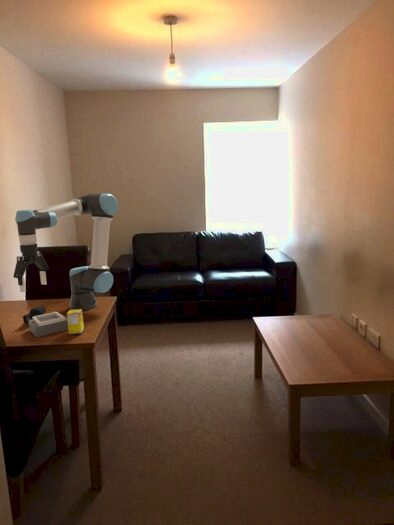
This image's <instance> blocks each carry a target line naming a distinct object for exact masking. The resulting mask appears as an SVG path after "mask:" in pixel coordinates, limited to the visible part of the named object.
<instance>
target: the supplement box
mask: <svg viewBox="0 0 394 525" xmlns="http://www.w3.org/2000/svg"><path fill="white" fill-rule="evenodd" d="M66 318H67V321H68V330H67V331H68V335H69V336H72V335H73V336H75V335H77V336H78V335H83V333H84V331H85V325H84V316H83V310H82V309H75V310H72V309H69V310H68V311H67V312H66Z"/></svg>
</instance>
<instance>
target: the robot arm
mask: <svg viewBox="0 0 394 525" xmlns="http://www.w3.org/2000/svg"><path fill="white" fill-rule="evenodd" d="M118 211H119V202H118V200H117V199H116V197H115V196H114V195H112V194H111V193H88V194H84V195H81V196H78V197H75V198H72V199H71V200H70V201H66V202H63V203H62V202H61V203H57V204H54V205H50V206H45V207H40V208H37V209H20V210H17V211H16V213H15V218H14V220H15V224H16V227H17V233H18V240H19V241H18V242H19V249H20V253H21V255H20V256H16V263H15V267H14V273H13V278H15V279H17V284H18V287H19V292H20V293H26V292H27V290H26V289H27V288H26V283H25V282H26V281H25V277H24V275H25V273H26V270H27V269H28V267H29V265H31V264H35V266H36V267H37V268H38V269H39V270H40V271H39V277H40V284H41V285H45V286H46V285H47V283H48V282H47V272H48V269H50V266H49V265H48V263H47V261H46V258H45V257H44V255H43V251H39V250H38V249H39V247H38V243H37V241H38V239H37V230H40V229H47V228H49V229H50V228H53V227H55V226H56V225H57V224H58V220H60V219H63V218H67V217H72V216H81V215H82V216H83V215H91V216H90V217H91V219H92V220H93V230H92V231H93V232H92V246H91V247H92V248H91V261H90V262H91V263H90V265H85V266H79V267H74V268H71V269H70V270H69V281H70V291H71V296H70V301H69V310H75V309H82V311H86V310H87V311H88V310H91V309H94V308H96V307H97V305H98V303H97V302H98V301H97V299H96V297H95V295H94V292H96V293H100V294H101V293H102V294H103V293H106V292H108V291H109V290H110V289H111V288H112V286H113V284H114V275H113V274H112V273H111V272H110V271H111V270H110V267H109V266H108V255H109V241H110V228H111V225H110V224H111V222H112V221H113V220H114V215H116V214H117V213H118Z"/></svg>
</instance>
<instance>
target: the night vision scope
mask: <svg viewBox="0 0 394 525" xmlns="http://www.w3.org/2000/svg"><path fill="white" fill-rule="evenodd" d="M46 310H47V308H46V306H45V305H40V306H35V307H33V308H31V309H30V310H29V312H28V313H26V314H24V315H23V316H21V319H22V320H23V321H22V322H23V323H24V324H26V325H29V321H30V320H33V319H32V317H34V316H39V315H44V314H46Z"/></svg>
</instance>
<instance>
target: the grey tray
mask: <svg viewBox="0 0 394 525" xmlns="http://www.w3.org/2000/svg"><path fill="white" fill-rule="evenodd" d="M32 319H33V320H30V321H29V324H28V327H29V332H30V333H31V334H32V335H33V336H35V338H39V337H43V336H47V335H52V334H56V333H60V332H64V331H65V332H66V331H69V330H68V321H67V316H65V315H63V314H62V313H59V312H57V311H53V312H50V313H44V315H39V316H34V317H32Z"/></svg>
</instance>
